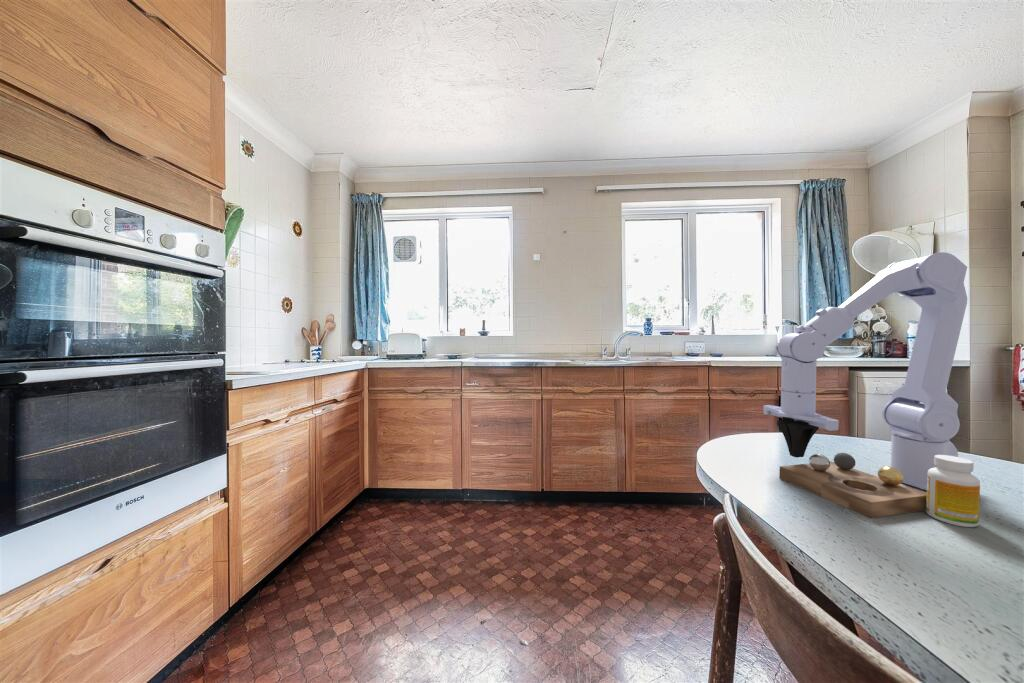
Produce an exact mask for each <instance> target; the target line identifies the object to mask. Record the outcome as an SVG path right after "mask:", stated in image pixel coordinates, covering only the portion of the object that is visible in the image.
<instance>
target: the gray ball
mask: <svg viewBox="0 0 1024 683" xmlns="http://www.w3.org/2000/svg"><path fill="white" fill-rule="evenodd" d="M833 462H834V463H835V464H836V465H837V466H838V467H839V468H841V469H844V470H849V469H852V468H853V469H854V468H855V466H856V459H855V458H854V456H852V455H851V454H849V453H847V452H838V453H837V454H835V455H834V456H833Z"/></svg>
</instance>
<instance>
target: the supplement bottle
mask: <svg viewBox="0 0 1024 683" xmlns="http://www.w3.org/2000/svg"><path fill="white" fill-rule="evenodd" d="M934 464H935V465H936V467H935V468H931V469H929V470H928V473H927V490H926V493H927V498H926V510H925V511H926V512H925V513H926V514H927V515H928V516H930V517H931V518H933V519H935V520H938V521H941V522H943V523H947V524H950V525H953V526H957V527H963V528H976V527H978V526H979V522H980V500H981V499H980V498H981V496H980V492H981V481H980V479H979V478H978V477H977V476H976V475H974V474H973V472H974V469H975V468H974V461H973V460H970V459H967V458H963V457H959V456H958V457H955V456H948V455H935V456H934Z"/></svg>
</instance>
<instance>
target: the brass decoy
mask: <svg viewBox="0 0 1024 683" xmlns="http://www.w3.org/2000/svg"><path fill="white" fill-rule="evenodd" d="M877 477H879V479H880V480H881V481H882V482H884V483H885V484H888V485H893V486H894V485H899V484H901V485H902V484H903V483H902V482H903V475H902V473H901V472H900V471H899V470H898V469H896V468H894V467H891V465H889V466H887V465H886V466H882V467H880V468H879V469H878V470H877Z"/></svg>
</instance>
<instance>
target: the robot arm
mask: <svg viewBox="0 0 1024 683" xmlns="http://www.w3.org/2000/svg"><path fill="white" fill-rule="evenodd" d="M967 270H968V266H967V265H966V264H965V263H963V262H962V261H961V260H960V259H959V258H957V256H956V255H953V254H952V253H949V252H934V253H932V254H929V255H925V256H920V257H915V258H910V259H907V260H905V259H904V260H898V261H895V262H892V263H891V264H889V265H888V266H886V268H884V269H881V270H880V271H878V272H877V273H876V274H875V276H874V277H873V278H872V279H871V280H869V281H868V282H866V284H864V285H863V286H862V287H860V288H859V290H857V291H856V292H855V293H853V294H852V295H851V296H850V297H849V298H848V299H846V300H845V301H844V302H842V303H841V304H840V305H839V306H838V307H837V306H827V307H826V308H819V309H818V310H816V311H815V312H814V314H815V316H813V317H812V318H811V319H810V320H808V321H807V322H805V323H804V324H802V325H798V326H797V327H795V330H796V331H795V332H792V333H787V334H785V335H782V337H781V338H780V339H779V341H778V343H777V345H776V346H775V351H776V353H777V355H778V356H779V357H780V359H781V370H780V371H781V376H780V378H781V380H780V406H777V405H772V404H766V405H763V409H762V414H763V415H767V416H768V415H770V416H774V417H777V418H781V420H777V421H776V425H777V426H778V428H779V429H780V432H781V433H782V434H783V437H784V439H785V442H786V445H787V449H788V453H789V456H791V457H793V458H804V456H805V454H806V452H807V451H806V450H807V448H808V445H809V443H810V441H811V439H812V438H813V437H814V436H815V434H816V433H817V431H818V430H819V428H821V429H824V430H826V431H830V432H831V431H832V432H833V431H839V420H838V419H835V418H830V417H828V416H825V415H822V414H820V413H816V411H817V410H816V404H817V403H816V402H817V401H816V399H817V398H816V397H817V364H818V363H817V362H818V359H821V358H822V357H823V355H824V354H825V350H826V348H827V346H829V345H830V344H832V343H833V342H835V341H836V340H837V339H839V338H840V337H842V336H843V335H844V334H846V333H847V332H849V331H850V330H851V329H853V327H854V324H855V323H854V322H855V319H856V317H859V316H860V315H861V314H863V313H864V312H866V311H868V310H869V309H871V308H872V307H873V306H875V305H877V304H878V303H880V302H882V301H883V300H884V299H886V298H887V297H889V296H891V295H892V294H896V293H897V294H899V295H901V296H902V297H905V298H908V299H910V300H912V301H913V302H915V303H916V304H917V305H918V306H919V307H920V308H921V313H920V317H919V321H918V325H917V328H916V334H915V339H914V342H913V345H912V346H913V347H912V351H911V355H910V359H909V363H908V368H907V372H906V376H905V381H904V384H903V385H901V386H900V387H898V388H897V389H895V390H894V391H892V393H891V395H890V396H891V397H890V399H889V401H888V402H887V403H886V404H885V405H884V406H883V409H882V413H881V414H882V418H883V421H884V422H885V423H886V424H887V425H888V426H889V432H891V444H890V445H891V447H890V448H891V450H890V467H894V468H896V469H898V470H899V471H900V472H901V473H902V475H903V482H902V483H901V484H905V485H909V486H910V487H911V486H912V487H914V488H918V489H921V490H922V491H923V490H924V491H927V473H928V470H929V469H931V468H935V467H936V465H935V464H934V456H935V455H948V456H955V457H959V452H958V448H956V446H955V445H954V443H953V442H951V441H950V439H953V438H954V437H955V436H956V435H957V434H958V432H959V430H960V425H961V424H960V419H959V416H958V408H959V404H958V403H957V401H956V400H954V399H953V397H952V396H951V395H949V393H947V389H948V384H949V380H950V375H951V371H952V367H953V362H954V358H955V355H956V350H957V346H958V342H959V337H960V334H961V330H962V327H963V322H964V319H965V313H966V308H967V305H968V294H967V290H966V286H965V279H966V275H967V274H966V273H967Z"/></svg>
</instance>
